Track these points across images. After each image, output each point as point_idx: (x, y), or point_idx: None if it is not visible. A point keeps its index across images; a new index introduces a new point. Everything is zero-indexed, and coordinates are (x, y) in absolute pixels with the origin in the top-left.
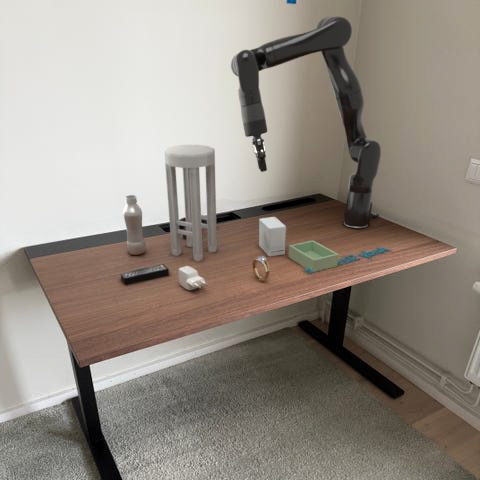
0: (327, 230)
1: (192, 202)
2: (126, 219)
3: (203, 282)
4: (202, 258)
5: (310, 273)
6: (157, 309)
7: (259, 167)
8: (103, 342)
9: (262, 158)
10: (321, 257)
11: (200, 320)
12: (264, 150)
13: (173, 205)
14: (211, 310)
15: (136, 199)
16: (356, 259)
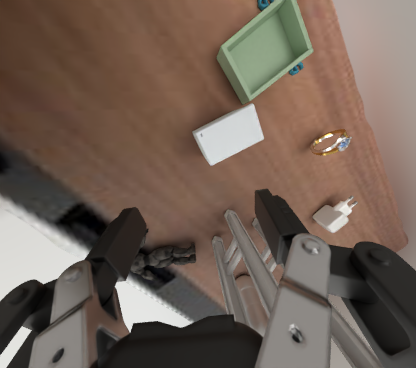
0: (83, 6)
1: None
2: None
3: (348, 201)
4: (256, 218)
5: (300, 65)
6: (357, 225)
7: (143, 231)
8: (393, 242)
9: (336, 254)
10: (303, 33)
11: (383, 187)
12: (329, 312)
13: None
14: (369, 182)
15: None
16: None
